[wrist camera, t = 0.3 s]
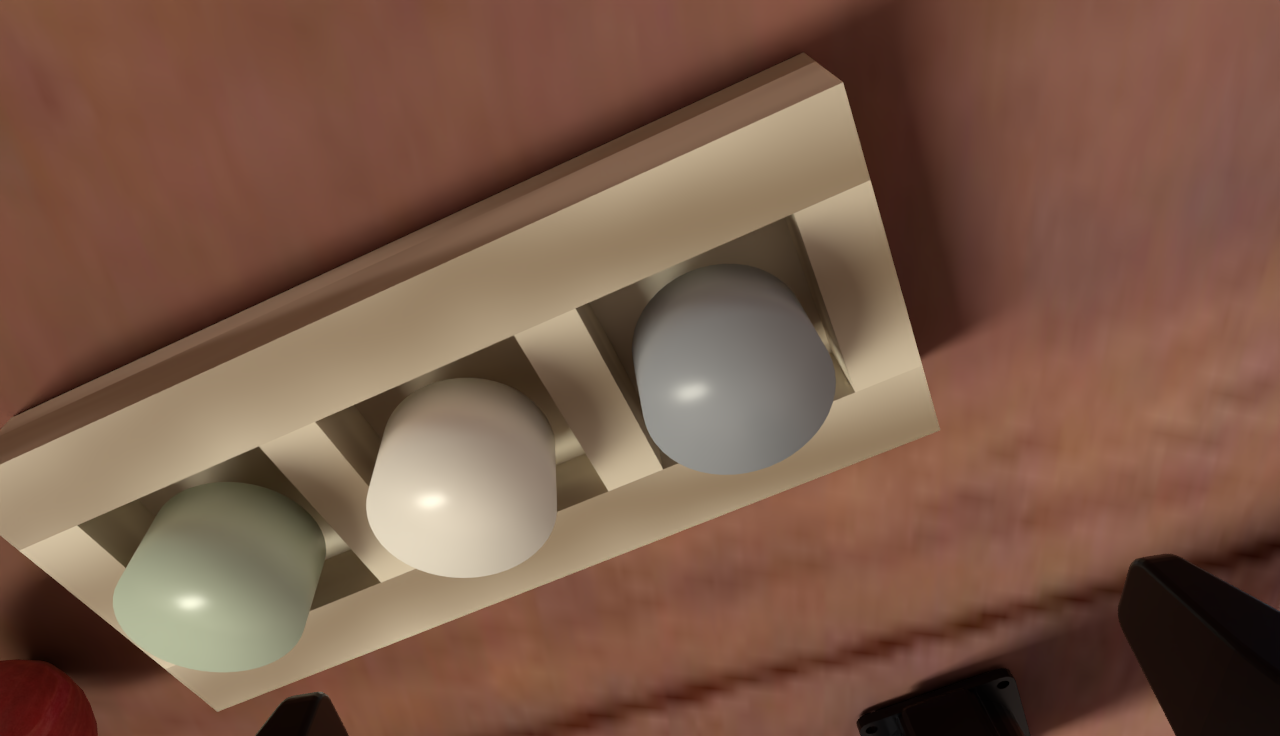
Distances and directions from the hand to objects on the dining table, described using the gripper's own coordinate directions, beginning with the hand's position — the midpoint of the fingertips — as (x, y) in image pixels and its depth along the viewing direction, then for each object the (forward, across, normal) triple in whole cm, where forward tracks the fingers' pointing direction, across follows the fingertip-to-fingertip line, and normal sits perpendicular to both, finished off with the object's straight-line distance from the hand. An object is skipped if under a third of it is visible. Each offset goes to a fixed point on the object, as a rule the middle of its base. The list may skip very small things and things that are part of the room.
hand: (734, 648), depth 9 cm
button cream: (+11, +5, +5) cm, 13 cm away
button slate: (+11, -2, +3) cm, 12 cm away
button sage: (+11, +12, +7) cm, 18 cm away
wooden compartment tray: (+14, +5, +5) cm, 16 cm away
